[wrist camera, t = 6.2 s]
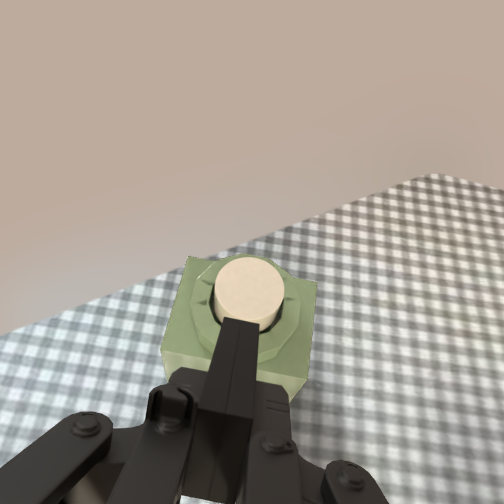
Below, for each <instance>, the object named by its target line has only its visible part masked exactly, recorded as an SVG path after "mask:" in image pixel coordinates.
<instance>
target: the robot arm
mask: <svg viewBox="0 0 504 504" xmlns="http://www.w3.org/2000/svg"><path fill="white" fill-rule="evenodd" d="M259 330H260V324H258V323H254V322H249V321H244V320H239V319H234V318H229V317H224V318H223V322H222V325H221V329H220V332H219V335H218V339H217V342H216V346H215V349H214V353H213V356H212V359H211V363H210V366H209V370H208V372H207V371H202V370H197V369H192V368H187V367H182V366H181V367H180V368H178V369H177V370H175V371H174V372H172V374H171V376H170V378H169V381H168V383H167V384H166V385H160V386H158V387H155V388H154V389H153V390H152V391H151V392H150V393H149V399H148V405H147V411H146V418H145V421H144V424H142V425H140V426H136V427H132V428H117V429H113V423H112V422H111V420H110V419H109V418H108V417H107V416H105V415H103V414H101V413H96V412H79V413H75V414H72V415H70V416H68V417H66V418H64V419H63V420H62V421H60V422H59V423H58V424H56V425H55V426H54V427H53V428H51V429H50V430H49V431H47V432H46V433H45V434H44V435H42V436H41V437H40V438H38V439H37V440H36V441H35V442H33V443H32V444H31V445H29V446H28V447H27V448H26V449H24V450H23V451H22V452H20V453H19V454H18V455H17V456H15V457H14V458H13V459H11V460H10V461H9V462H7V463H6V464H5V465H4V466H2V467H1V468H0V504H180V499H181V495H184V496H189V497H194V498H198V499H203V500H208V501H213V502H218V503H223V504H235V501H236V504H389V503H388V501H387V500H386V498H385V496H384V495H383V493H382V491H381V490H380V488H379V486H378V485H377V483H376V481H375V480H374V478H373V477H372V476H371V475H370V474H369V472H368V471H366V470H365V469H363V468H362V467H361V466H359V465H357V464H354V463H352V462H349V461H343V460H338V461H332V462H331V463H329V464H328V465H327V467H326V469H325V470H324V469H322V468H320V467H318V466H315V465H313V464H311V463H309V462H308V461H306V460H305V459H303V458H302V457H301V456H300V455H299V454H298V449H297V446H296V444H295V443H294V441H293V440H292V437H291V423H290V414H289V413H290V409H289V395H288V393H287V392H286V391H285V389H284V388H283V386H282V385H277V384H272V383H267V382H262V381H257V380H256V376H257V361H258V346H259Z"/></svg>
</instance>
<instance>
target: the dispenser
mask: <svg viewBox="0 0 504 504" xmlns="http://www.w3.org/2000/svg"><path fill="white" fill-rule="evenodd" d="M242 257H253V258H258V259H261V260H264V261H266V262H268V263H269V264H271V265H272V266H273V267H274V268H275V269H276V270H277V271H278V272H279V274H280V276H281V278H282V280H283V283H284V297H283V300H282V303H281V306H280V308H279V311H278V313H277V316H276V318H275V320H274V322H273V323H272V324H271V325H270V326H269V327H268V328H267V329H265V330H263V331H262V332H259V346H258V361H257V376H256V380H257V381H262V382H267V383H272V384H277V385H282V386H283V388H284V389H285V391H286V392H287V393H288V395H289V403H290V401H291V400H292V399H293V398H294V396H295V395H296V394H297V393H298V391H299V390H300V389H301V387H302V386H303V385H304V384H305V382H306V381H307V380H308V370H309V361H310V351H311V342H312V332H313V322H314V313H315V303H316V294H317V284H318V283H317V282H313V281H308V280H303V279H298V278H293V277H291V276H290V274H288V273H287V272H286V271H285V270H283V269H282V268H281V267H279V266H278V265H277V264H275V263H274V262H273V261H271V260H270V259H268V258H263V257H258V256H253V255H249V254H244V253H243V254H238V255H234V256H230V257H226V258H223V259H219V260H217V261H210V260H205V259H201V258H196V257H191V256H188V258H187V261H186V265H185V268H184V271H183V275H182V278H181V281H180V285H179V288H178V291H177V295H176V298H175V301H174V305H173V308H172V311H171V315H170V318H169V321H168V325H167V328H166V331H165V335H164V338H163V341H162V345H161V348H160V351H161V356H162V360H163V364H164V369H165V373H166V378H167V382H168V381H169V378H170V376H171V374H172V372H174V371H175V370H177V369H178V368H180V367H181V366H182V367H187V368H192V369H197V370H202V371H207V372H208V370H209V366H210V363H211V359H212V356H213V353H214V349H215V346H216V342H217V339H218V335H219V332H220V329H221V325H222V323H221V322H220V321H219V320H218V318H217V316H216V314H215V311H214V288H215V280H216V277H217V275H218V273H219V271H220V270H221V269H222V268H223V267H224V266H225V265H226V264H227V263H229V262H230V261H233V260H235V259H238V258H242Z"/></svg>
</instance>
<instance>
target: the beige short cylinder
mask: <svg viewBox="0 0 504 504" xmlns="http://www.w3.org/2000/svg"><path fill="white" fill-rule="evenodd" d="M283 297H284V283H283V280H282V278H281V276H280V274H279V272H278V271H277V270H276V269H275V268H274V267H273V266H272V265H271V264H269V263H268V262H266V261H264V260H261V259H258V258H253V257H242V258H238V259H235V260H233V261H230V262H229V263H227V264H226V265H225V266H224V267H223V268H222V269H221V270H220V271H219V273H218V275H217V277H216V280H215V288H214V311H215V314H216V316H217V318H218V320H219V321H220V322H221V323H222V322H223V318H224V317H229V318H234V319H239V320H244V321H249V322H254V323H258V324H260V330H259V332H262V331H263V330H265V329H267V328H268V327H269V326H270V325H271V324H272V323H273V322H274V320H275V318H276V316H277V313H278V311H279V308H280V306H281V303H282V300H283Z"/></svg>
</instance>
